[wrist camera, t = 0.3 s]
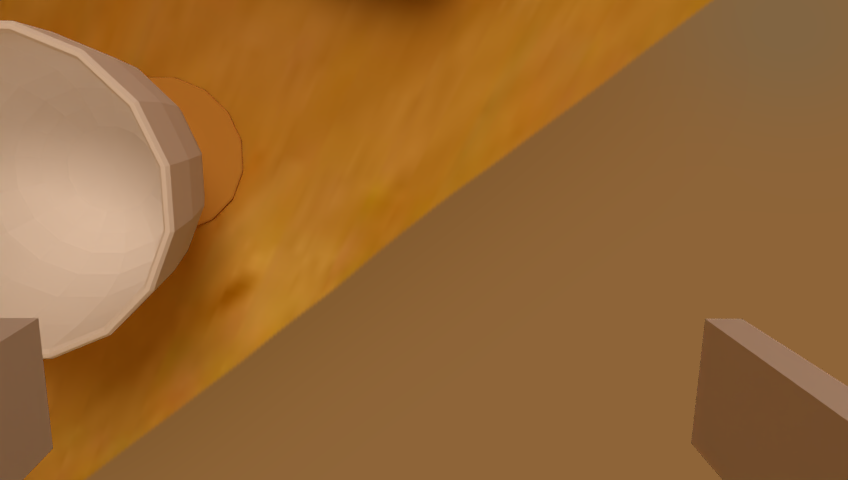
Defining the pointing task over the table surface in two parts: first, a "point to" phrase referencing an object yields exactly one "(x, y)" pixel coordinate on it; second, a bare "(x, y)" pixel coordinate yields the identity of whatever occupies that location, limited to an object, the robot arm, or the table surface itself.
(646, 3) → the table surface
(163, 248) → the cup
